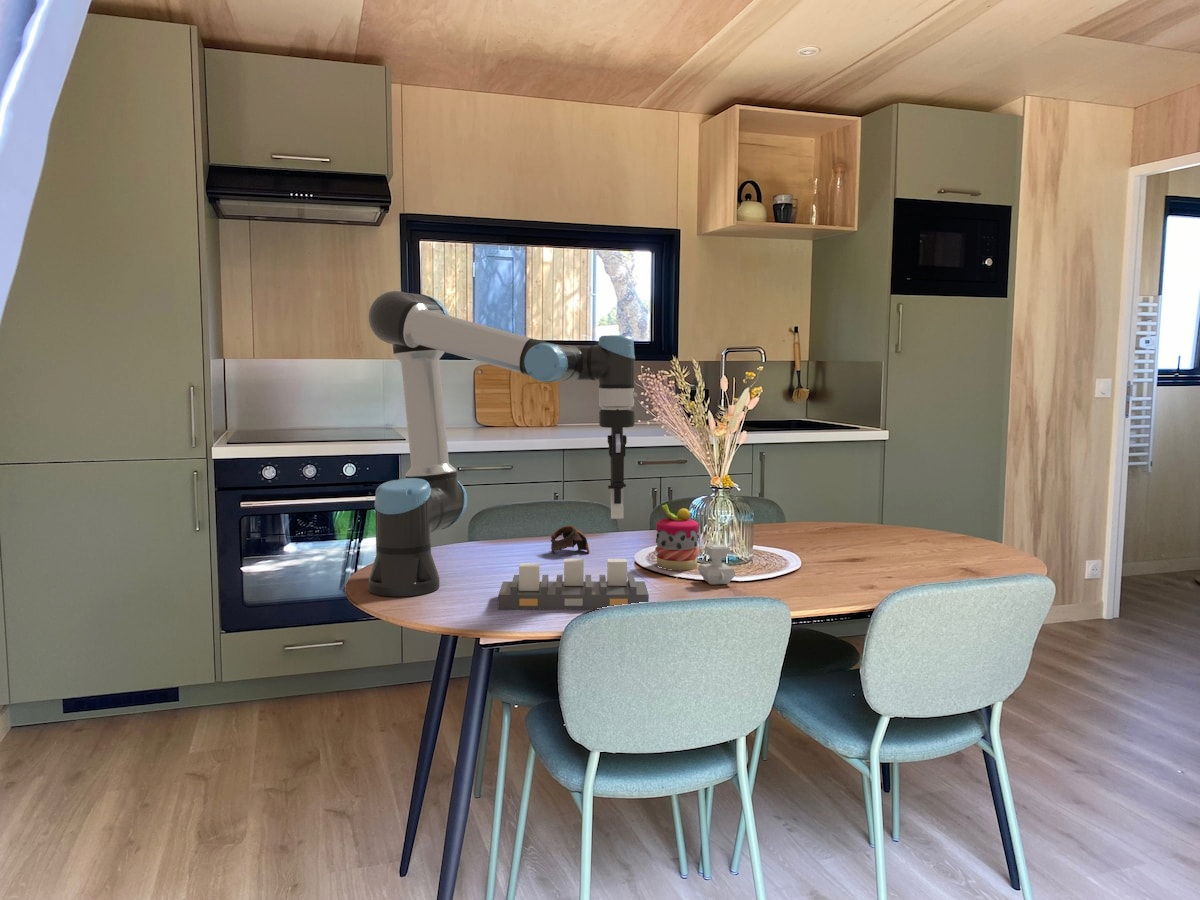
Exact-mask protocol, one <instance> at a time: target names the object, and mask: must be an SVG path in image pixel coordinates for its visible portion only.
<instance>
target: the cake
mask: <svg viewBox="0 0 1200 900" xmlns="http://www.w3.org/2000/svg"><path fill="white" fill-rule="evenodd" d="M661 509H662V511H663V512H664V513H665V515H666V516H667V517H668V518H663V519H660V520H657V522H656V526H655V527H656V528H655V531H656V532H657V533H656V539H655V543H656V545H657V546H656V547H655V551H656V552H657V554H656V566H657V565H658V566H659V567H662V568H666V569H672V570H686V571H693V570H695V569H697V568H698V556H699V554H700V549H699V546H698V542H699V538H700V535H699V532H700V531H699V530H700V529H699V523H698V522H697V521H696V520H693V519H691V518H690V516H691V513H690V511H689V509H687V508H680V509H679V510H678V511H677V513H676V515H675V513H672V512H670V510H669V506H668V504H667V503H665V504H664V505H663V504H662V505H661ZM672 570H671V571H672Z"/></svg>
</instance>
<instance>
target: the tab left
mask: <svg viewBox="0 0 1200 900" xmlns="http://www.w3.org/2000/svg"><path fill="white" fill-rule="evenodd" d="M540 564H541V563H539V562H531V563H530V562H529V563H528V562H526V563H524V562H523V563H521V562H520V563H519V566H518V575H519V591H539V588H540V582H541V581H540V577H541V576H540V575H541V573H540V571H541V569H540V568H541V567H540Z"/></svg>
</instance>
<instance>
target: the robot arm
mask: <svg viewBox="0 0 1200 900" xmlns="http://www.w3.org/2000/svg"><path fill="white" fill-rule="evenodd" d="M368 323H369V327H370V330H371V331H372V332H373V334H374V336H376V337H377V338H378V339H379V340H381V341H382V342H384V343H385V344H386V343H387V344H390V345H392V351H393V353H392V354H393V357H395V359H397V360H398V361H399V362H400V365H401V374H402V376H401V377H402V384H403V395H404V405H405V414H406V415H405V416H406V426H407V427H406V428H407V434H408V435H407V436H408V445H409V446H408V447H409V457H410V458H409V459H410V468H409V469H408V471H407V472H406V473H405V477H404V478H399V479H391V480H389V481H386V482H383V483H382V484H380V485H379V486H378V487H377V488H376V489H375V499H374V503H373V504H374V509H375V510H374V515H375V521H374V522H375V551H376V552H375V557H374V561H373V565H372V567H371V571H370V574H369V577H368V589H367V590H368V592H370V593H371V594H373V595H377V596H383V597H412V596H413V597H414V596H419V595H426V594H429V593H432V592H435V591H436V590H438V589H439V588H440V575H439V572H438V569H437V566H436V563H435V560H434V557H433V554H432V548H431V547H432V545H431V544H432V543H431V542H432V537H431V536H432V533H434V532H436V531H440V530H445V529H448V528H449V527H452V526H453V525H454V524H456V523H457V522H458V521H460V519H462V517H463V516H464V514H465V512H466V510H467V506H468V494H467V491H466V489H465V486H464V485H463V484H462V483H461V482H460V481H459V480H458V474H457V473H458V472H457V469H456V468H455V467H454V466H453V465H451V463H450V462H449V461H450V460H449V448H448V442H447V441H448V440H447V439H448V438H447V429H446V419H445V407H444V398H443V387H442V377H441V365H440V359H441V358H442V357H443V355H444V354H445V353H447V354H452V355H455V356H458V357H462V358H466V359H470V360H472V361H475V362H480V363H482V364H483V363H484V364H486V365H491V366H495V367H498V368H501V369H505V370H507V371H508V370H509V371H511V372H514V373H515V372H516V373H519V374H523V375H526V376H529V377H531V378H532V379H534V380H536V381H540V382H542V383H552V382H569V381H570V382H571V381H573V382H574V381H598V406H599V407H600V408H601V409H600V410H599V413H598V414H599V417H598V420H599V422H598V423H599V424H598V425H599V426H600V427H601V428H610V429H611V430H610V435H607V444H608V455H609V458H610V479H609V480H610V481H609V482H610V485H607V489H608V490H610V519H611V520H612V519H613V520H615V519H616V520H617V519H619V520H620V519H622V520H624V518H625V516H624V515H625V514H624V513H625V511H624V510H625V509H624V508H625V507H624V504H625V503H624V498H625V497H624V495H625V494H624V493H625V492H624V488H626V487H627V484H626V483H625V482H624V481H625V480H624V479H625V477H624V476H625V474H624V471H625V470H624V469H625V467H624V466H625V456H626V444H627V443H628V441H627V440H628V439H627V438H628V437H627V436H626V434H625V435H624V428H633V427H634V426H635V411H634V409H632V407H635V398H637V397H638V392H635V365H636V363H635V361H636V356H635V344H634V343H635V342H634V339H633V338H632V336H631V335H621V334H620V335H618V334H617V335H616V334H614V335H613V334H612V335H611V334H610V335H601V336H599V339H598V343H597V344H595V345H593V344H592V345H570V344H567V345H566V344H556V343H551V342H548V341H544V340H540V339H535V338H531V337H528V336H525V335H521V334H517V333H513V332H510V331H507V330H502V329H499V328H496V327H491V326H487V325H486V324H485V325H484V324H480V323H478V322H474V321H469V320H466V319H463V318H459V317H455V316H451V315H450V314H449V312H448V309H447V308H446V307H445V305H444V304H443V303H442V302H440V300H438V299H436V298H435V297H431V296H429V295H426V294H423V293H421V294H420V293H419V294H418V293H411V292H404V291H398V290H393V291H387V292H384V293H382V294H380V295H379V296H377V298H375V300H373V302H372V303H371V305H370V307H369V311H368Z"/></svg>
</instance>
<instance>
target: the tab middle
mask: <svg viewBox="0 0 1200 900" xmlns="http://www.w3.org/2000/svg"><path fill="white" fill-rule="evenodd" d="M563 562H564V563H563V567H564V568H563V577H564V578H563V579H564V580H563V581H564V586H583V585H584V579H585V575H584V574H585V573H584V569H585V568H584V566H585V565H584V562H585V561H584V558H564V559H563Z"/></svg>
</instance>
